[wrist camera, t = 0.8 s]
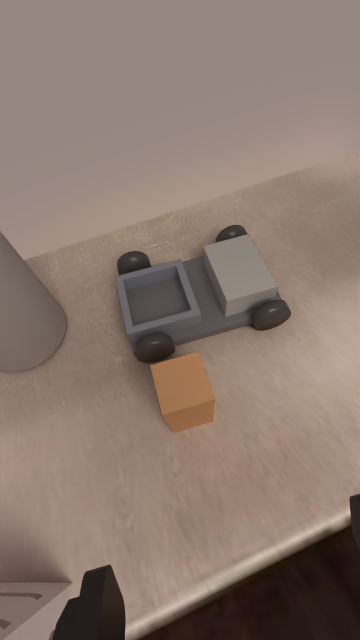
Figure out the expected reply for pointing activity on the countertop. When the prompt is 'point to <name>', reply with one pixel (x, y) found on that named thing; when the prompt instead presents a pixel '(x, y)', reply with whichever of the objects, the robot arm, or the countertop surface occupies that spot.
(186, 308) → the toy car chassis
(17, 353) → the cylinder vase
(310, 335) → the countertop surface
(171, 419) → the orange rectangular block
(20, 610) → the grater
